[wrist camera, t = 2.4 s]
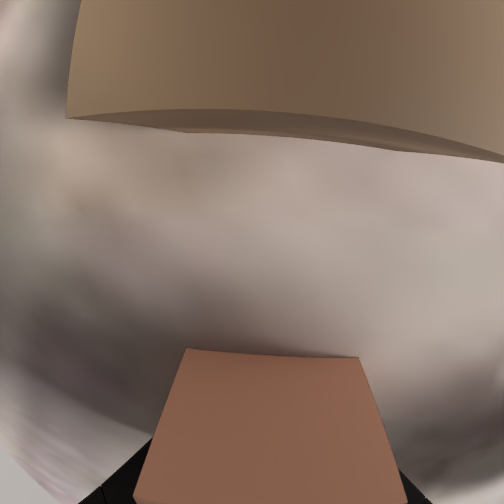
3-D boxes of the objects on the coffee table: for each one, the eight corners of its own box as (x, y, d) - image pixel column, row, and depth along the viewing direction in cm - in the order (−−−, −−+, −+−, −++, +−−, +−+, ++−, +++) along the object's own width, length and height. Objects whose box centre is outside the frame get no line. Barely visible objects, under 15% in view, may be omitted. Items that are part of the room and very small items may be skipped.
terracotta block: (358, 357, 9) (408, 501, 4) (326, 456, 10) (339, 567, 6) (186, 348, 9) (132, 495, 4) (195, 450, 10) (170, 561, 6)
